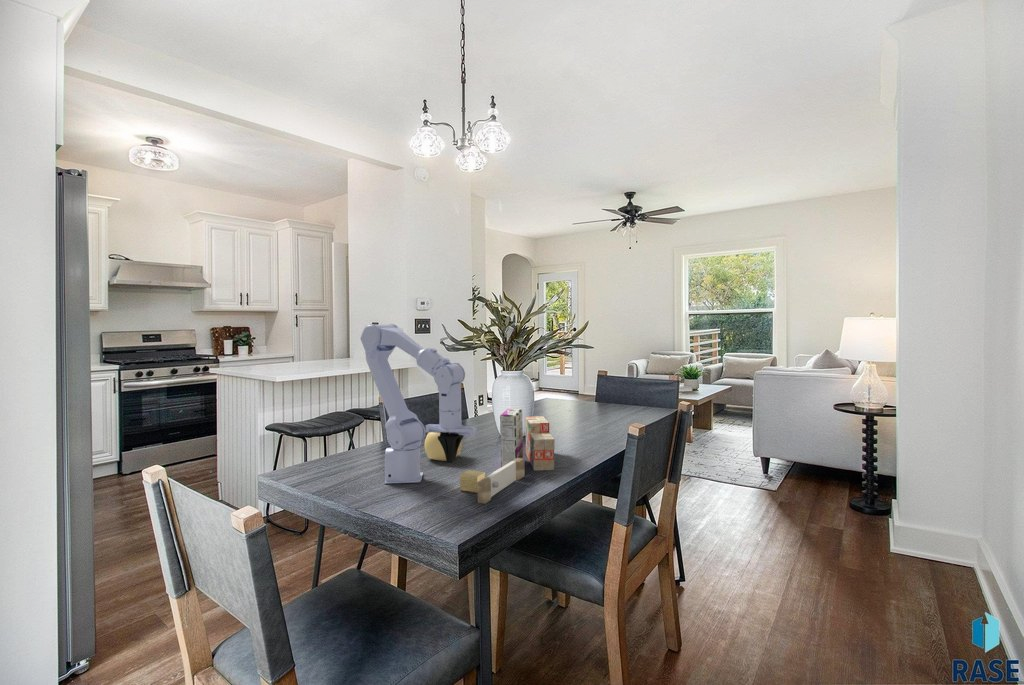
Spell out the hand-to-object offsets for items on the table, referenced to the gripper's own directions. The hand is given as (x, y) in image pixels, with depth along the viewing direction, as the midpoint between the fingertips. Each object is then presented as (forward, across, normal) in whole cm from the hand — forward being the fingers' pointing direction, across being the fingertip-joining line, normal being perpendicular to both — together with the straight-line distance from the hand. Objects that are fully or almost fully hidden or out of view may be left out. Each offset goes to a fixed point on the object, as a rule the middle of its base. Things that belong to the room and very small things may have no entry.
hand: (451, 461), depth 128 cm
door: (+6, +13, +4) cm, 15 cm away
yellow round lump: (+7, -17, +22) cm, 29 cm away
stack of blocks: (+7, +12, +32) cm, 35 cm away
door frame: (+7, +13, +4) cm, 15 cm away
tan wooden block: (+7, +6, 0) cm, 9 cm away
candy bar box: (+7, +6, +24) cm, 26 cm away
